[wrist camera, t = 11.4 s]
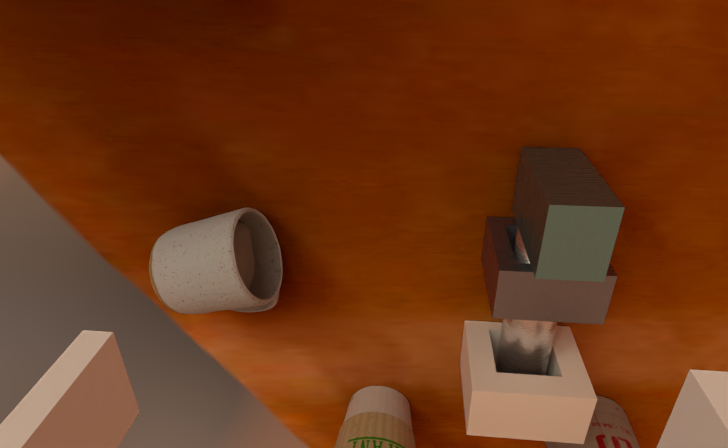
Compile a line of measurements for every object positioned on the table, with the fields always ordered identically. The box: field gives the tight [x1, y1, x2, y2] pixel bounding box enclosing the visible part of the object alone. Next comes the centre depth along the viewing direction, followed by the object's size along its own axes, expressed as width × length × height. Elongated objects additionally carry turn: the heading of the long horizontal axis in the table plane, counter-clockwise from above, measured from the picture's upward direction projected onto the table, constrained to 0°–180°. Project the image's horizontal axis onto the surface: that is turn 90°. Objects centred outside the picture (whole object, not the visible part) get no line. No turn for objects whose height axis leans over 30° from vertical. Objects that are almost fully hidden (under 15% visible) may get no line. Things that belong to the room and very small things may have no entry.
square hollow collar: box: [482, 217, 617, 325], centre depth 36 cm, size 4×7×7 cm, turn 91°
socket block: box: [460, 320, 597, 444], centre depth 42 cm, size 5×9×8 cm, turn 91°
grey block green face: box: [495, 147, 625, 376], centre depth 36 cm, size 20×4×9 cm, turn 1°
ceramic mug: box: [149, 208, 283, 314], centre depth 40 cm, size 11×8×8 cm
